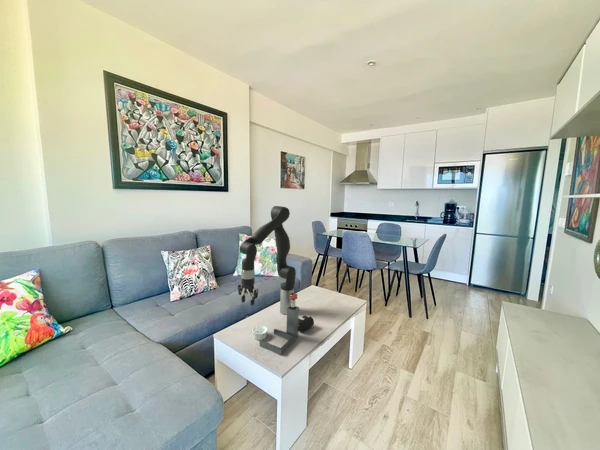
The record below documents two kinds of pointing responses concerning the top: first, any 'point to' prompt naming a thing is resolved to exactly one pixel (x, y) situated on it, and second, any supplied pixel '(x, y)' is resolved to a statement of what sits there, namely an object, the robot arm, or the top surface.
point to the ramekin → (259, 332)
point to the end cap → (305, 323)
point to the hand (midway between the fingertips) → (247, 303)
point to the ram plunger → (293, 300)
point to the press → (289, 334)
